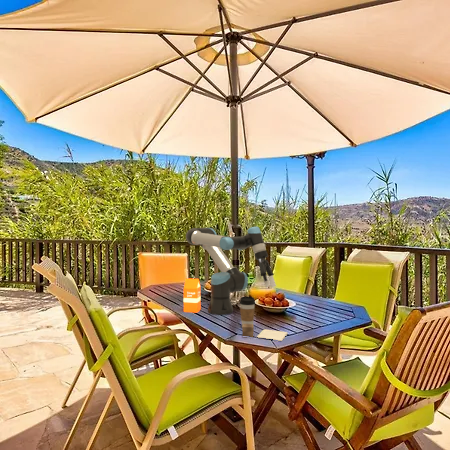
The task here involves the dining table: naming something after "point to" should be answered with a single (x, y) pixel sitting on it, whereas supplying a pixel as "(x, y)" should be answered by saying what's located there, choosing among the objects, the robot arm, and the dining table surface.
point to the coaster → (272, 335)
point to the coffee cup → (247, 310)
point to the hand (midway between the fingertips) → (271, 286)
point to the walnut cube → (248, 330)
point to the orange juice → (192, 295)
